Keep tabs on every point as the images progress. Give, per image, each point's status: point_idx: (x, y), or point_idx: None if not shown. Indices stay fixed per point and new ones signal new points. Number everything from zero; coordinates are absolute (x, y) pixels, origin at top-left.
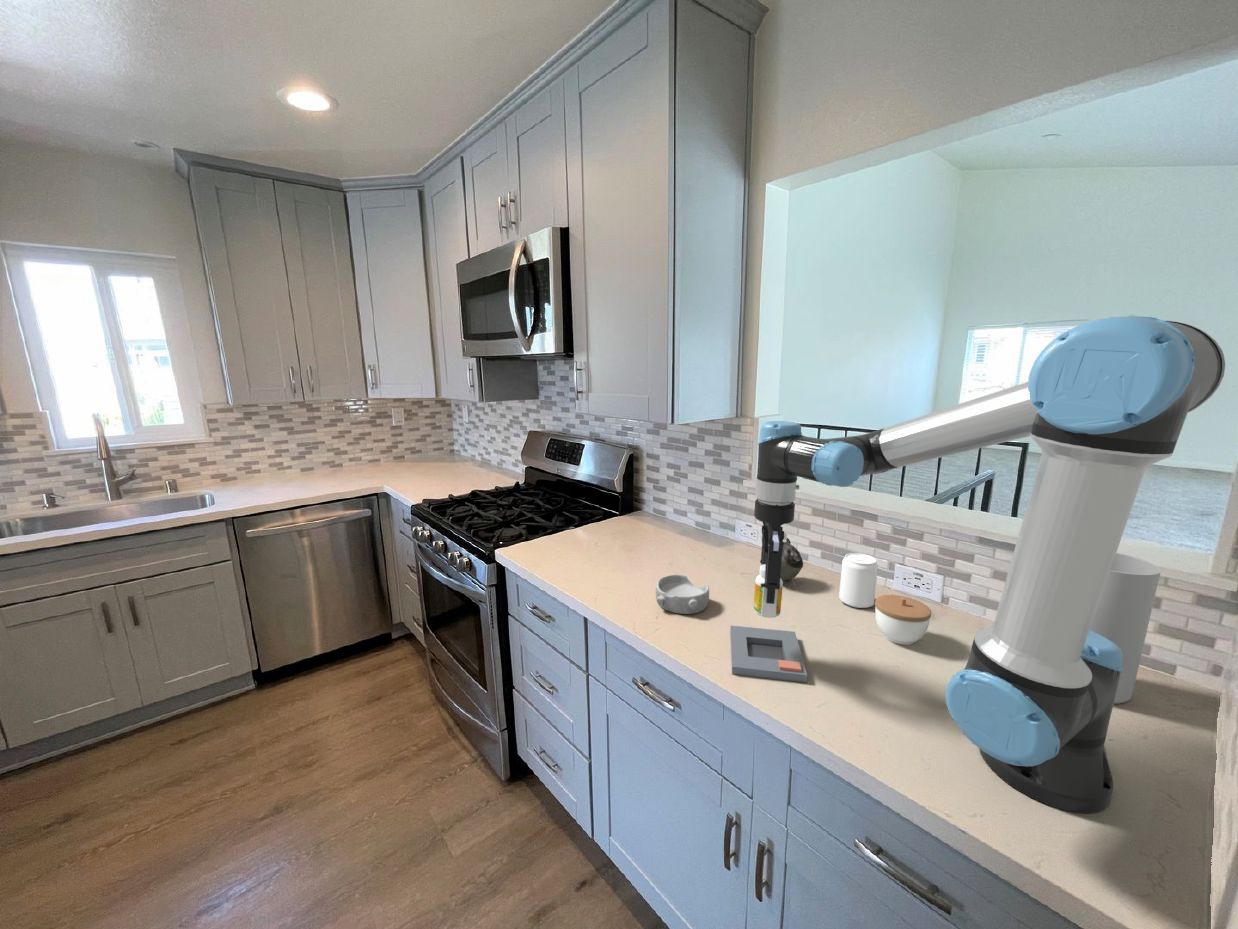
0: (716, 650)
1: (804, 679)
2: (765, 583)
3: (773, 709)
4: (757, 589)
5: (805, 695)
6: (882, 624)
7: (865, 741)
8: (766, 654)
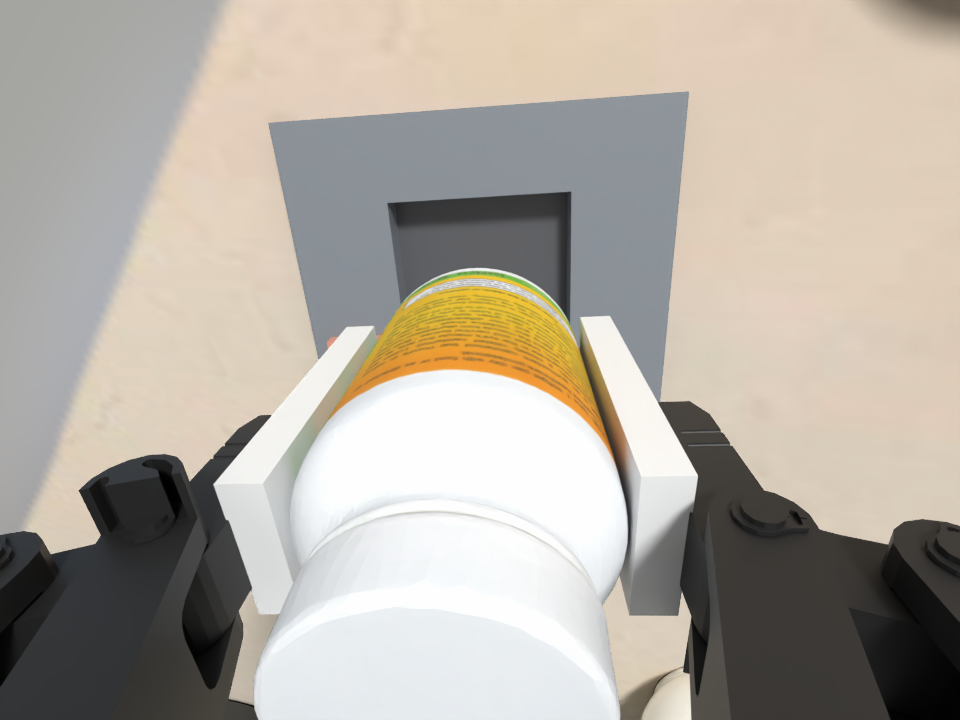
0: (465, 22)
1: None
2: (97, 548)
3: (139, 294)
4: (375, 367)
5: (269, 402)
6: (690, 713)
7: None
8: None
